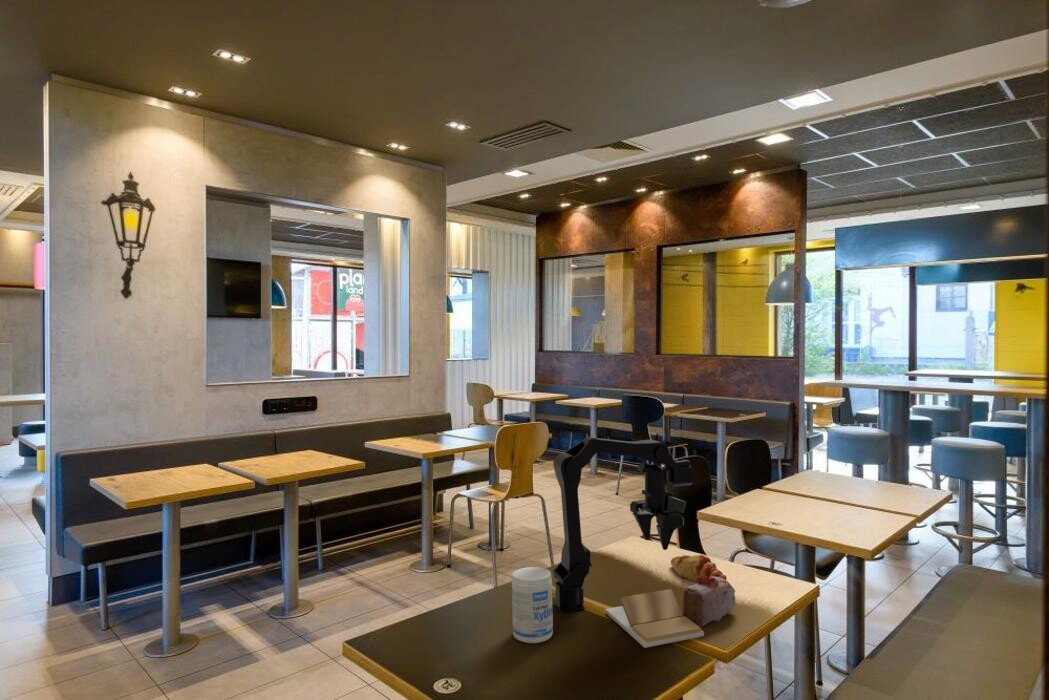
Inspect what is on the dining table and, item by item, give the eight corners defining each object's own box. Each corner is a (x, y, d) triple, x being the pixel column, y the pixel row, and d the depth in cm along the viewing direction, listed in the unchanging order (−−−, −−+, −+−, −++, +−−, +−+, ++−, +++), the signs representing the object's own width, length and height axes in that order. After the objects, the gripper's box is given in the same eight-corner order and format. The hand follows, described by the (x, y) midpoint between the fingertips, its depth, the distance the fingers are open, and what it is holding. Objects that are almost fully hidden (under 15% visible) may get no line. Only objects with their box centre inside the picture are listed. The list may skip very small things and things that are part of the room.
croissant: (665, 579, 191) (655, 558, 189) (685, 558, 196) (675, 537, 194) (720, 601, 173) (709, 578, 171) (741, 576, 178) (730, 554, 176)
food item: (710, 604, 164) (709, 566, 164) (738, 613, 158) (737, 574, 158) (679, 620, 155) (678, 580, 155) (708, 630, 149) (707, 588, 149)
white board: (644, 647, 141) (644, 638, 141) (605, 612, 160) (605, 605, 160) (704, 636, 146) (703, 627, 146) (659, 603, 165) (659, 595, 165)
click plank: (630, 626, 149) (631, 624, 148) (619, 599, 154) (621, 597, 153) (682, 617, 153) (683, 615, 152) (670, 591, 158) (671, 588, 158)
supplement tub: (541, 648, 142) (539, 583, 142) (505, 639, 147) (503, 577, 147) (560, 631, 151) (558, 569, 150) (525, 623, 155) (524, 564, 155)
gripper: (701, 492, 164) (701, 551, 164) (663, 478, 182) (663, 532, 182) (663, 495, 161) (664, 556, 161) (628, 481, 179) (629, 536, 179)
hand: (656, 544), depth 171 cm, fingers open, 9 cm apart
